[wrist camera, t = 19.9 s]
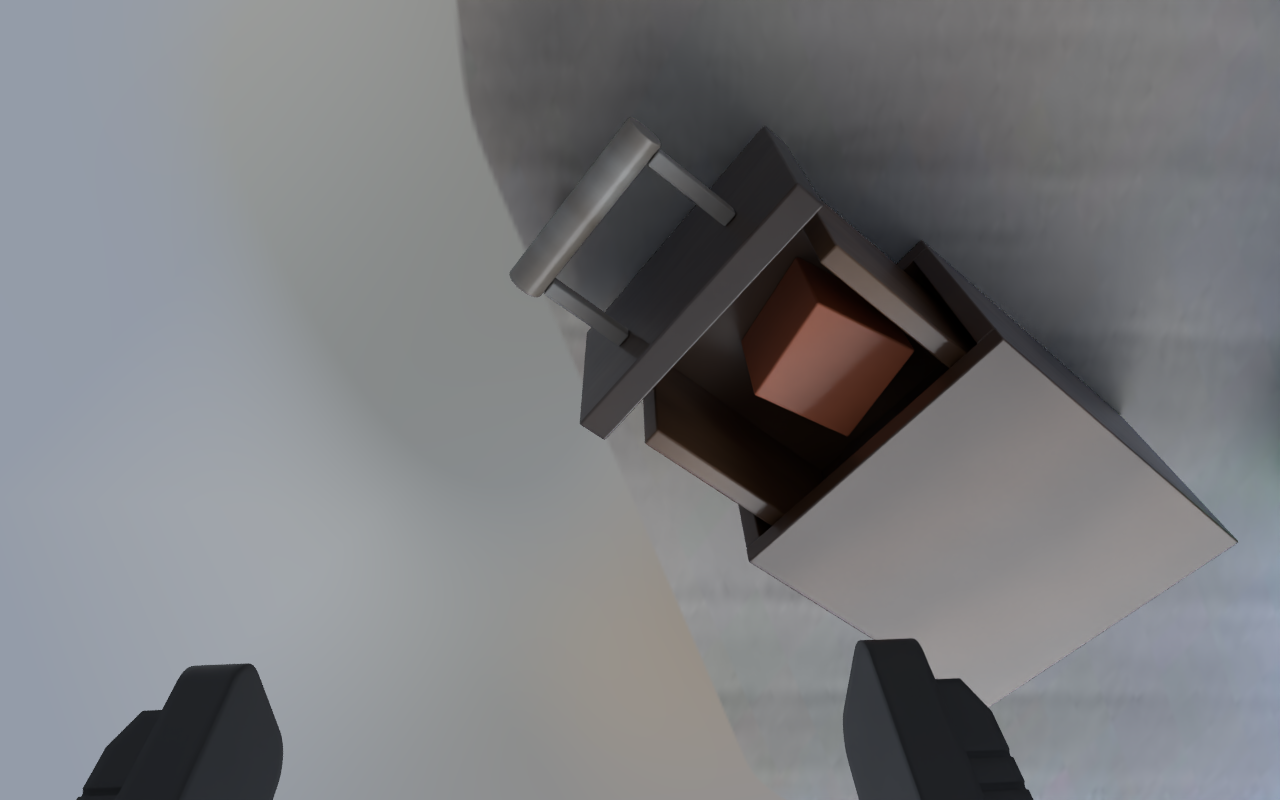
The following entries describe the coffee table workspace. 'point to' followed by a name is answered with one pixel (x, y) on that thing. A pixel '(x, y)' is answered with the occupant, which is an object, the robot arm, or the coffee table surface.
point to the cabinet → (991, 512)
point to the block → (822, 349)
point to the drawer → (727, 318)
